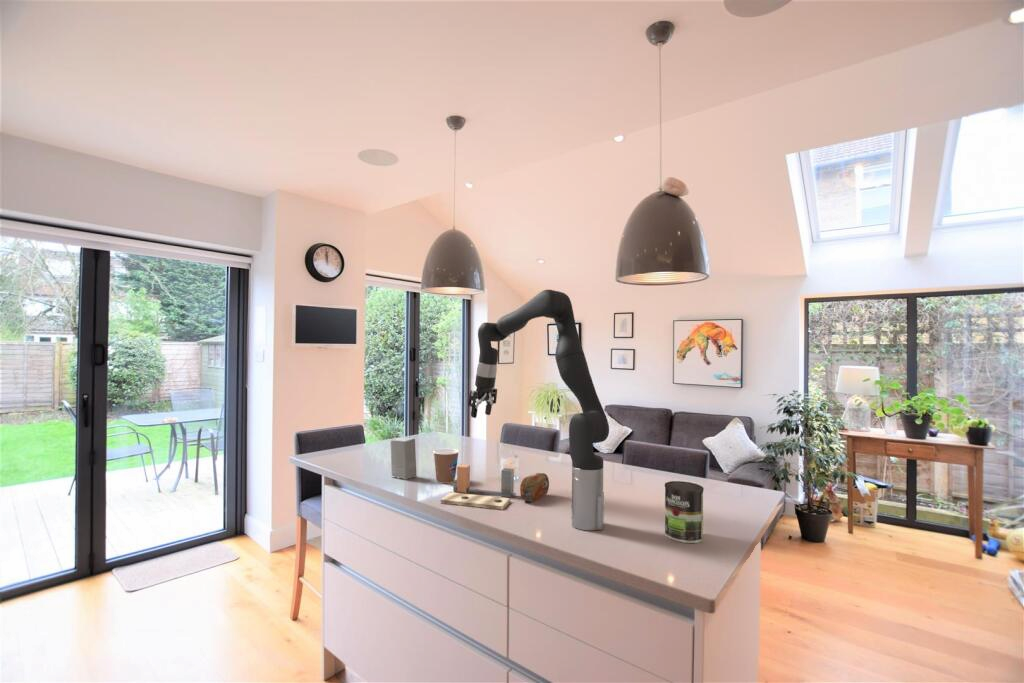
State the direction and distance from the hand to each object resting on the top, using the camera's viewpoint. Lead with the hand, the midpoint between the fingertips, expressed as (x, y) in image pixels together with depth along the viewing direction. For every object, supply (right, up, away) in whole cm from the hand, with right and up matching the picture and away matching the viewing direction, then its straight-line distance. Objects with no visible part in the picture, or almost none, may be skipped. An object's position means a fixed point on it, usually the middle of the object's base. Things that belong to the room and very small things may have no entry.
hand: (480, 415), depth 178 cm
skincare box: (-33, -27, +12) cm, 44 cm away
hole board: (0, -26, -20) cm, 33 cm away
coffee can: (+60, -26, -48) cm, 82 cm away
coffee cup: (-15, -27, +7) cm, 32 cm away
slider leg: (-6, -27, -7) cm, 28 cm away
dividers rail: (+3, -27, -10) cm, 29 cm away
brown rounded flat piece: (+20, -27, -15) cm, 37 cm away
